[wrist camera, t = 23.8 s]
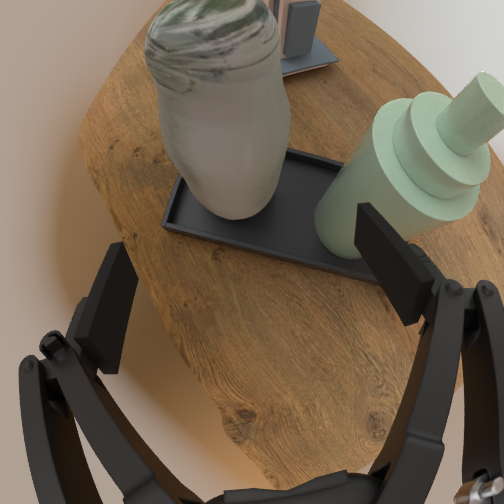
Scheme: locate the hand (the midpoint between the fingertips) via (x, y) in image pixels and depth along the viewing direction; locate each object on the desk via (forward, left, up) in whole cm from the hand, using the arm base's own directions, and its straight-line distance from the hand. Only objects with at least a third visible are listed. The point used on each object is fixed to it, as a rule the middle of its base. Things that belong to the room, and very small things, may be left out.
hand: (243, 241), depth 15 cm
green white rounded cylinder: (-9, +5, -20) cm, 23 cm away
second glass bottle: (+3, +14, -20) cm, 25 cm away
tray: (-3, +10, -21) cm, 23 cm away
